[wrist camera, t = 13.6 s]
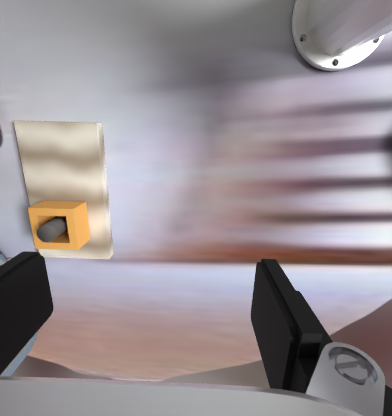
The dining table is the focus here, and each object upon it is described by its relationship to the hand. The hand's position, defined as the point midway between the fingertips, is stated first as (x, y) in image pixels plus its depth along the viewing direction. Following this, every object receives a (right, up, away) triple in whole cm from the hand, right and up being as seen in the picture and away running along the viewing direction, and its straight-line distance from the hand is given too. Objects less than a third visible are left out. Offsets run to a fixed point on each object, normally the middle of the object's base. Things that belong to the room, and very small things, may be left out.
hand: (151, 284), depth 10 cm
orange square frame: (-19, +1, +27) cm, 33 cm away
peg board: (-19, +6, +28) cm, 34 cm away
